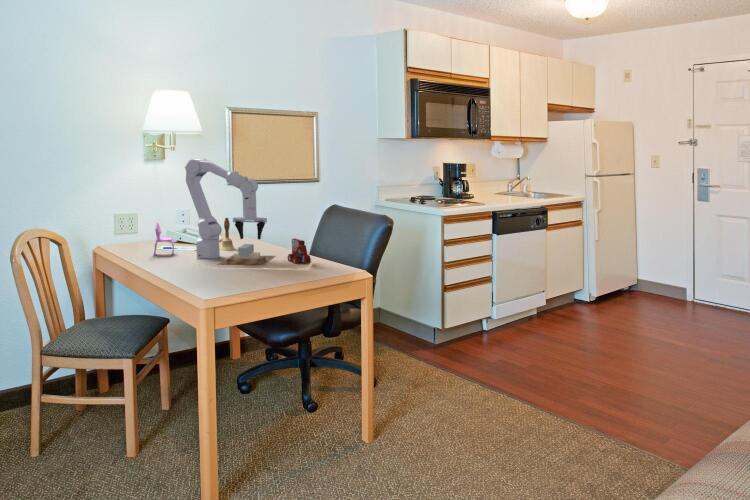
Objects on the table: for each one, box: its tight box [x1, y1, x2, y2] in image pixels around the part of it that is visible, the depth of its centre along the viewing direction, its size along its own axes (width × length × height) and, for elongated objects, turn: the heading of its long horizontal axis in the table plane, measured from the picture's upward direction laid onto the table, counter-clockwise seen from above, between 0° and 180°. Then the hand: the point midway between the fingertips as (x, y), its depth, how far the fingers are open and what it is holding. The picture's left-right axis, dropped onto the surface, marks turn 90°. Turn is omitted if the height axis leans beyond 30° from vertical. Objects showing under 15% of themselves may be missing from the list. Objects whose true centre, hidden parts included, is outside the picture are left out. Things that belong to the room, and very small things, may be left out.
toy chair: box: [153, 222, 175, 257], centre depth 268 cm, size 8×9×15 cm
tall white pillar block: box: [233, 251, 261, 259], centre depth 248 cm, size 10×4×4 cm, turn 87°
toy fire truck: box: [287, 238, 312, 265], centre depth 249 cm, size 7×12×10 cm, turn 32°
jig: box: [216, 254, 276, 266], centre depth 253 cm, size 20×22×3 cm
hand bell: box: [219, 217, 236, 252], centre depth 278 cm, size 8×8×16 cm
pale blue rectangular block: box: [237, 243, 255, 255], centre depth 247 cm, size 4×9×3 cm, turn 176°
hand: (250, 238), depth 254 cm, fingers open, 7 cm apart
